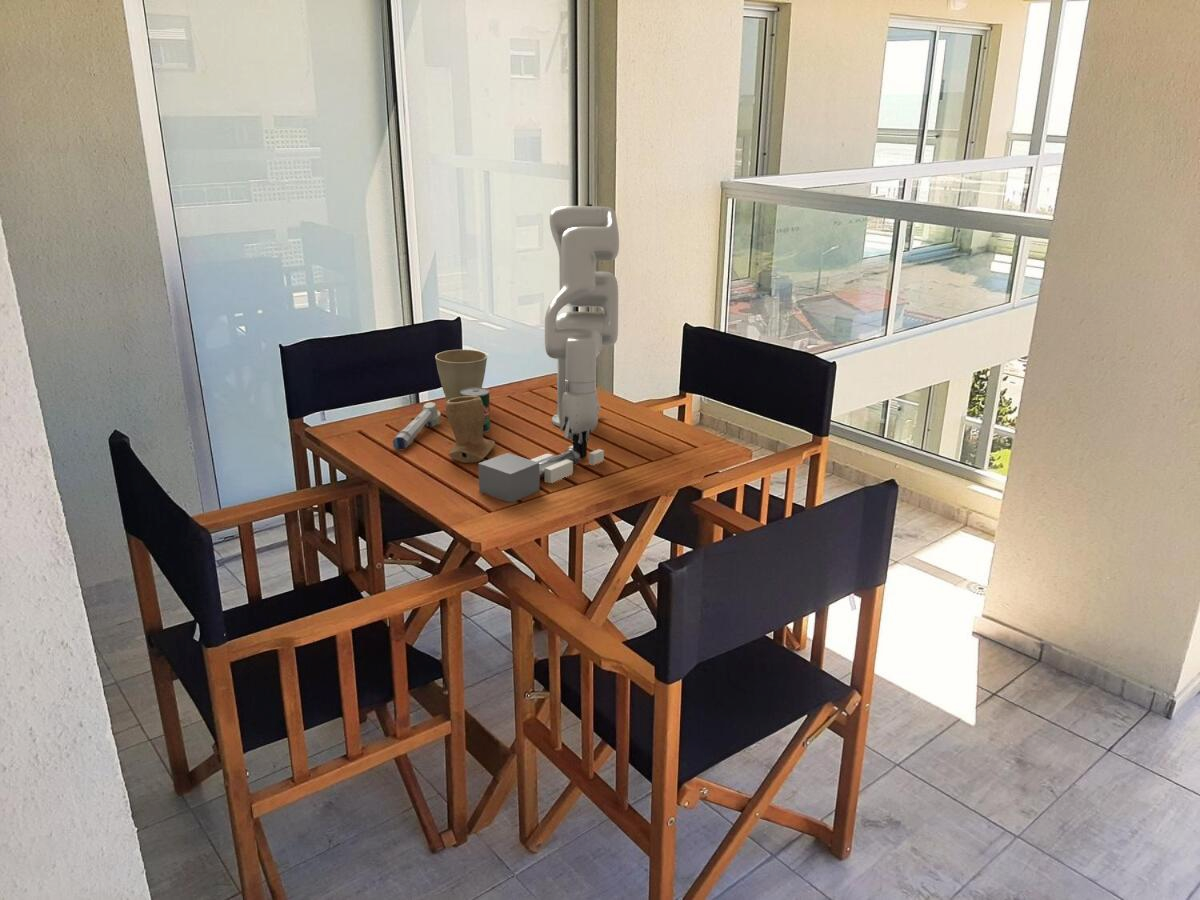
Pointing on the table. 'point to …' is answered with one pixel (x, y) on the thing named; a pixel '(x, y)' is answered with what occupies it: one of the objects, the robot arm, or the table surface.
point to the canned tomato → (484, 396)
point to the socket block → (508, 477)
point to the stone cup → (468, 429)
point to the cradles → (566, 465)
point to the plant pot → (460, 370)
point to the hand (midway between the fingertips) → (579, 456)
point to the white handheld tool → (417, 425)
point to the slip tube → (559, 460)
